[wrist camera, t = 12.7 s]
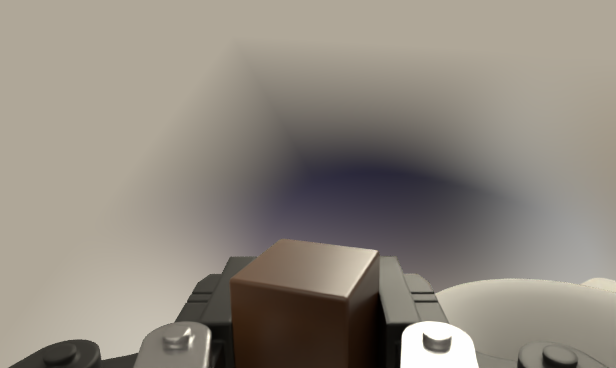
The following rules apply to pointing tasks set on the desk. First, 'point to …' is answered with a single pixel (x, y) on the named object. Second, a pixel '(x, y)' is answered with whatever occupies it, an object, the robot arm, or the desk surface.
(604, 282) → the desk surface
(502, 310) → the vase
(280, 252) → the brown square bar
